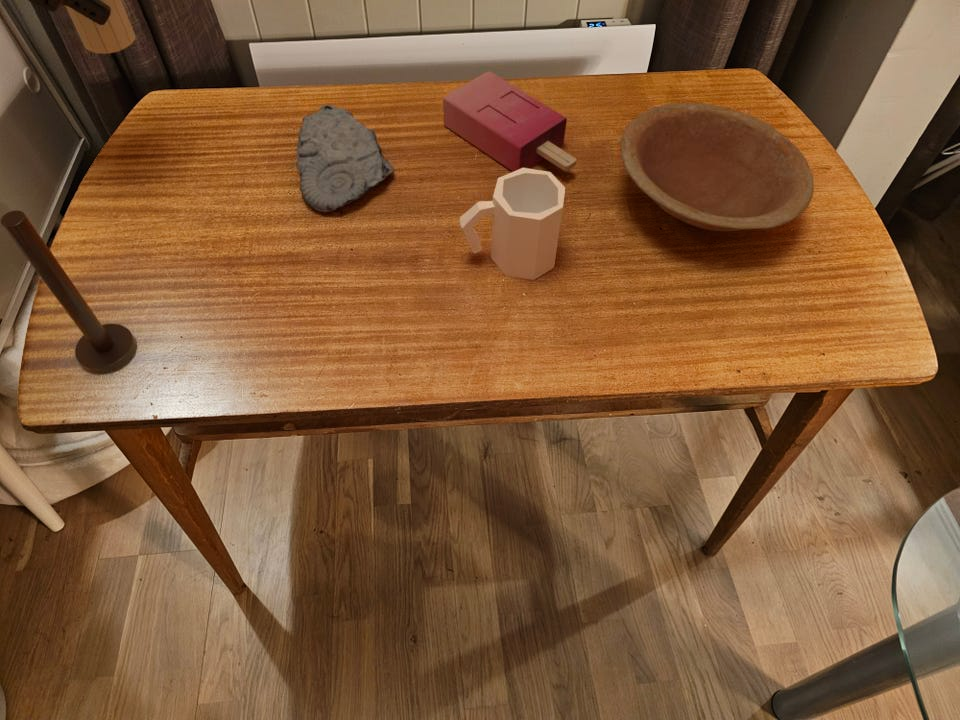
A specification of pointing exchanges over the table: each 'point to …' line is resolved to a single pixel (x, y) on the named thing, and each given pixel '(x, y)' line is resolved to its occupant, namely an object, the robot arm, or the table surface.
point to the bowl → (716, 167)
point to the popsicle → (507, 123)
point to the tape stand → (73, 302)
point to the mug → (521, 222)
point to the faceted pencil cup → (105, 29)
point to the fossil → (337, 159)
